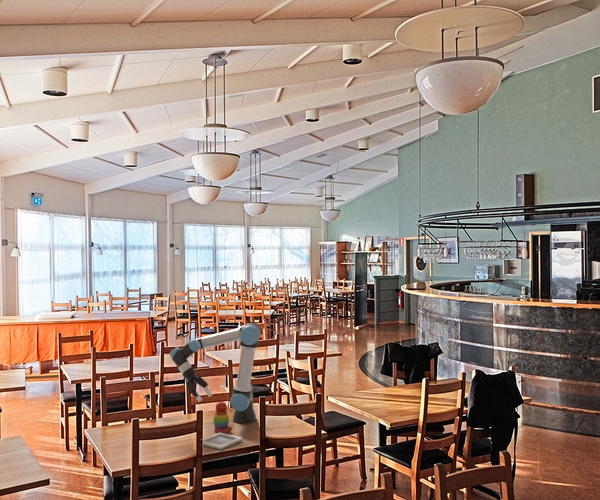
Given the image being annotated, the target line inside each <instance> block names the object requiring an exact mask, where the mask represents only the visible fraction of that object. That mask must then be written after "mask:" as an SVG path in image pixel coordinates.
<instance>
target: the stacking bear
mask: <svg viewBox="0 0 600 500" xmlns="http://www.w3.org/2000/svg"><path fill="white" fill-rule="evenodd" d="M228 407H229V406H228V405H227V404H226V403H225V402H224V401H222V400H221V401H219V402H217V403H216V404H215V412H214V415H213V425H214V429H213V431H214V432H215V434H217V433H225V434H228V433H229V431H231V430H232V426H231V425H229V424H230V423H229V419H230V418H229V413H228V411H227V410H228Z"/></svg>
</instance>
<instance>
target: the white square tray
mask: <svg viewBox="0 0 600 500" xmlns="http://www.w3.org/2000/svg"><path fill="white" fill-rule="evenodd" d="M202 439H203V446H202V447H205V448H209V449H212V450H217V451H223V450H226V449H229V448H230V447H232V446H235V445H238V444H239V443H242V442H243V437H242V436H241V437H240V436H237V435H232V434H228V433H215V434H213V435H212V434H211V435H210V436H207V437H204V438H202Z"/></svg>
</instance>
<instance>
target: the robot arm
mask: <svg viewBox="0 0 600 500" xmlns="http://www.w3.org/2000/svg"><path fill="white" fill-rule="evenodd" d="M261 335H262V328H261V326H260V325H259V324H258V323H256V322H250V323H247V324H244V325H240V326H239V327H238V328H235V329H230V330H227V331H222V332H219V333H214V334H209V335H205V336H202V337H195V338H192V339H191V340H190V341H188V342H186V344H185V345H183V347H181V348H180V347H178V346H177V347H175V348H174V349H172V350H171V351H170V352H169V357H170V358H171V361H173V363H174V365H175V366H176V367H177V368H178V370H179V372H180V373H181V374H182V376H183V378H184V381H185V384H186V386H187V390H188V392H189V393H190V395H192V394H193V396H194V397H195V399H196V401H197V402H198V403H200V402H201V401H203V398H202V397H201V395H200V393H199V392H198V391H197V390H196V386H195V385H196V384H197V385H199V386H200V387H201V388H203V390H204V392H205V394H206V395H207V396H208V398H210V397H212V396H213V393H212V391H211V390H210V389H209V387H208V386H209V384H208V382H206V381H205V379H204V378H202V377H201V376H200V375H199V373H196V371H195V369H194V367H192V364H191V363H190V362H189V360H188V359H189V358H190V357H191V356H192V355H194V354H195V353H196V352H198V351H199V350H204V349H207V348H212V347H216V346H220V345H223V344H228V343H233V342H237V341H239V346H240V348H241V349H240V356H239V363H238V370H237V376H236V381H235V382H236V384H235V385H234V386H233V388H232V393H231V397H230V401H229V402H230V407H231V409H233V410H234V412H233V415H232V421H233V422H234V423H237V424H249V423H252V422H256V421H257V415H256V413H255V410H254V395H253V391H254V387H253V385H252V384H251V382H252V381H251V380H252V373H253V366H254V359H255V352H256V350H257V349H258V347H259V342H260V337H261ZM195 373H196V374H195Z"/></svg>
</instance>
